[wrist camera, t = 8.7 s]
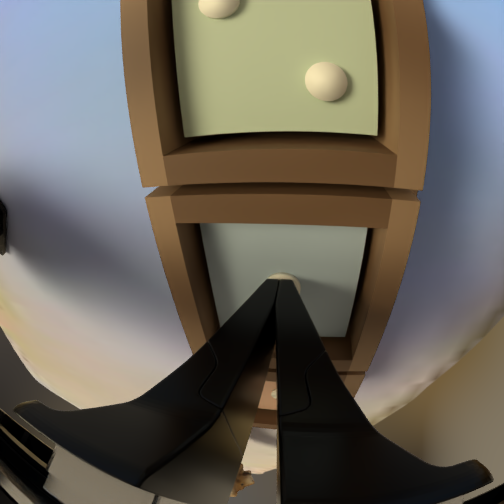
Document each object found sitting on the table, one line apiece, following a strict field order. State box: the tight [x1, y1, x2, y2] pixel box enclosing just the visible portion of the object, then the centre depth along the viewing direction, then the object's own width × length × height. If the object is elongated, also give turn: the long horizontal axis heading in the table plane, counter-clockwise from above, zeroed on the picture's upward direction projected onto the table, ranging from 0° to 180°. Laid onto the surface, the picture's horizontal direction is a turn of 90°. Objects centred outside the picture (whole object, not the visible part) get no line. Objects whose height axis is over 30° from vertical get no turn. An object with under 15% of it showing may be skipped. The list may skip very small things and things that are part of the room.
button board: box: [120, 0, 431, 429], centre depth 10 cm, size 24×10×5 cm, turn 4°
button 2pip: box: [172, 0, 378, 137], centre depth 6 cm, size 5×5×2 cm
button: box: [200, 223, 367, 337], centre depth 10 cm, size 5×5×2 cm
